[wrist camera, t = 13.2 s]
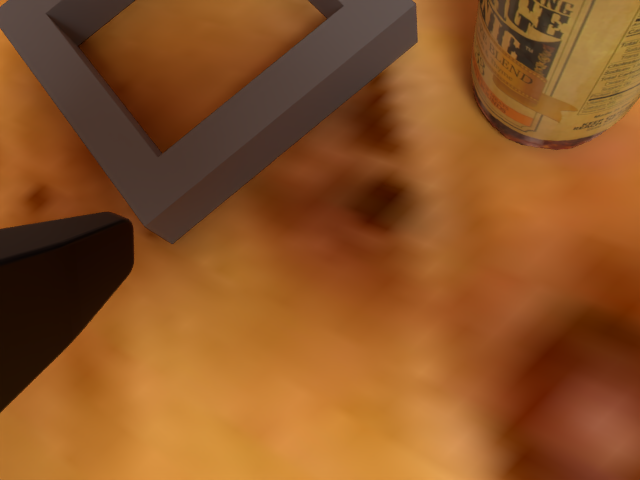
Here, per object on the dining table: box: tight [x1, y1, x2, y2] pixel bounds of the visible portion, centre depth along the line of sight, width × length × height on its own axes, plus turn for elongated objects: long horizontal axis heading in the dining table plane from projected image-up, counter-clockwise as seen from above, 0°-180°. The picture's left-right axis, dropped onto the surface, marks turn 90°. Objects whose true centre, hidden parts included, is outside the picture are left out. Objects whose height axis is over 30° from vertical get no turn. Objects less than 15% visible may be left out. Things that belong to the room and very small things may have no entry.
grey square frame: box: [0, 0, 418, 244], centre depth 26 cm, size 14×14×2 cm
